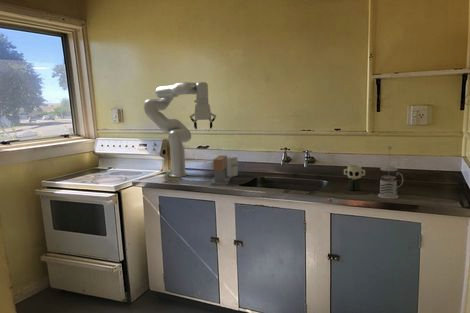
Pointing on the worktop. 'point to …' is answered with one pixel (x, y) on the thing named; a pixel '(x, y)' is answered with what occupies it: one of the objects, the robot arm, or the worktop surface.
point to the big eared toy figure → (354, 176)
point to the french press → (386, 180)
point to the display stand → (221, 178)
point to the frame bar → (220, 163)
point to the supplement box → (232, 166)
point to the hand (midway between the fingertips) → (203, 128)
